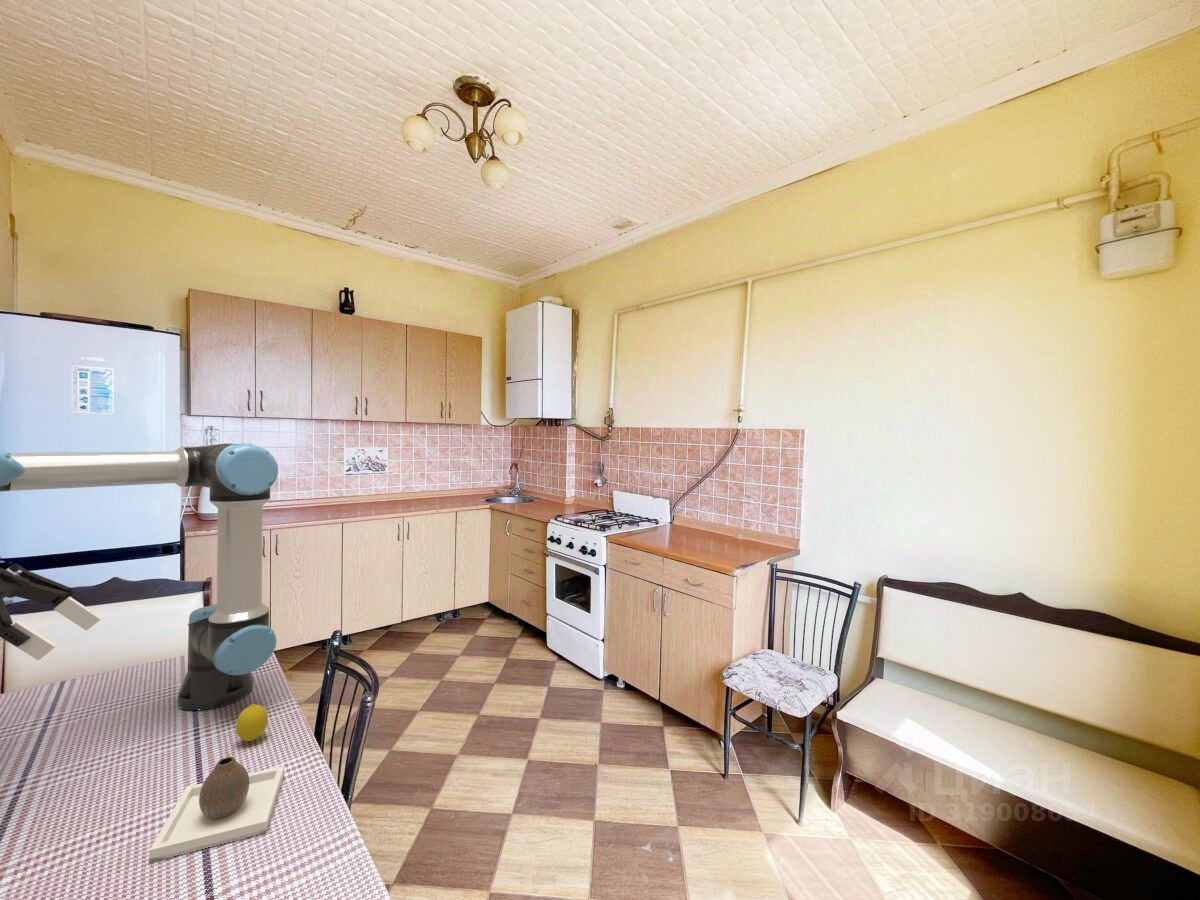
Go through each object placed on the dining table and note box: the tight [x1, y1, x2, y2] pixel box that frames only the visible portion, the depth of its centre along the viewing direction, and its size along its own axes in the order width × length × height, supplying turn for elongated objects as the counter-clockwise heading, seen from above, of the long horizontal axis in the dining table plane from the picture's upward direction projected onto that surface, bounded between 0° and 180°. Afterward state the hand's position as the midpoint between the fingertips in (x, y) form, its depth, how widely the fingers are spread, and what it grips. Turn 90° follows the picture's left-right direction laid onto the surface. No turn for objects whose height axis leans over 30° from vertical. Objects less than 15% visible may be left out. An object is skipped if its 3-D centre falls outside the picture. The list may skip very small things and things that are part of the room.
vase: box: [199, 756, 249, 819], centre depth 83 cm, size 7×7×9 cm
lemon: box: [235, 703, 269, 743], centre depth 103 cm, size 6×6×8 cm
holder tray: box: [148, 765, 285, 864], centre depth 83 cm, size 15×15×2 cm
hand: (73, 637), depth 84 cm, fingers open, 13 cm apart
